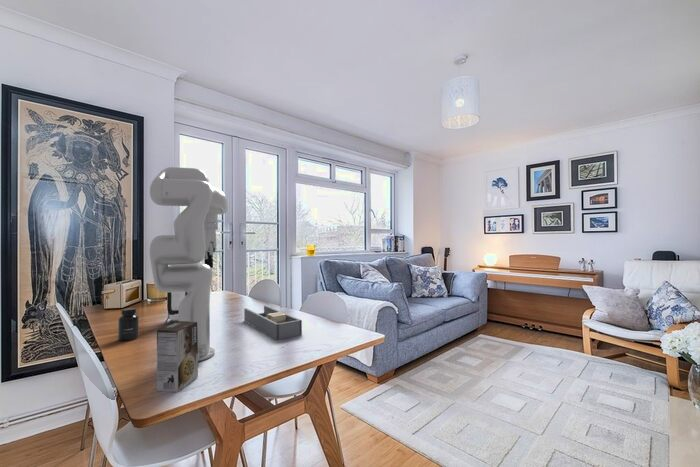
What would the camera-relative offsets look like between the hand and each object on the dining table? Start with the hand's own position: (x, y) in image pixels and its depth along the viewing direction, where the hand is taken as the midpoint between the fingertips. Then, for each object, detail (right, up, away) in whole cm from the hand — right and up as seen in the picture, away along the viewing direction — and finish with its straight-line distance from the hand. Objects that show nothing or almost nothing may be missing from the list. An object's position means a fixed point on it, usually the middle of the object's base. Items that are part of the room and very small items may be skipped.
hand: (208, 268), depth 142 cm
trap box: (+27, -27, +2) cm, 38 cm away
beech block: (+30, -24, -1) cm, 39 cm away
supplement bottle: (-27, -27, -13) cm, 40 cm away
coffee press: (-19, -28, +14) cm, 36 cm away
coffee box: (+15, -26, -54) cm, 62 cm away
